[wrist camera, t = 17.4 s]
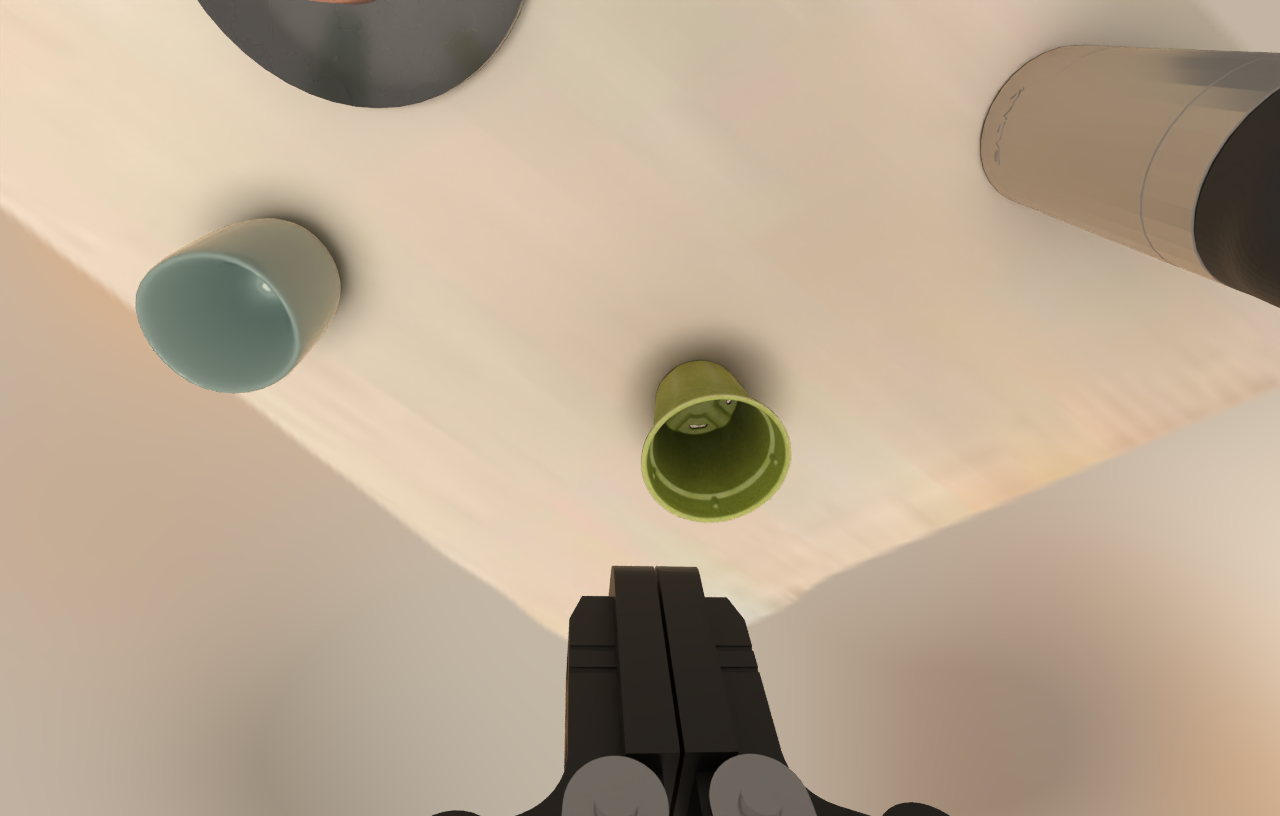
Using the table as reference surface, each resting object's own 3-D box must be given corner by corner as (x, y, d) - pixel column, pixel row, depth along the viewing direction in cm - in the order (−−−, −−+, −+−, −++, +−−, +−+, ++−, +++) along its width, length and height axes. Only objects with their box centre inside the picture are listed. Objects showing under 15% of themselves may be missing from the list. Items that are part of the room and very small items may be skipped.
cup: (198, 228, 42) (98, 281, 33) (314, 186, 41) (243, 228, 33) (270, 340, 46) (197, 413, 37) (377, 302, 45) (329, 368, 36)
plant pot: (637, 458, 53) (647, 530, 45) (626, 345, 48) (635, 404, 40) (758, 444, 53) (789, 514, 45) (759, 330, 48) (793, 387, 41)
